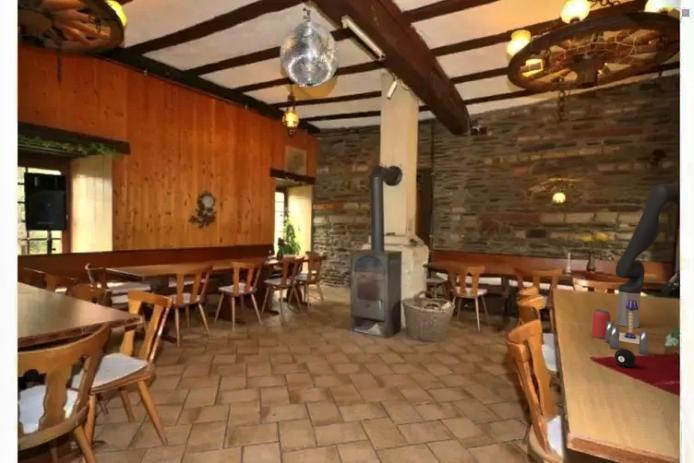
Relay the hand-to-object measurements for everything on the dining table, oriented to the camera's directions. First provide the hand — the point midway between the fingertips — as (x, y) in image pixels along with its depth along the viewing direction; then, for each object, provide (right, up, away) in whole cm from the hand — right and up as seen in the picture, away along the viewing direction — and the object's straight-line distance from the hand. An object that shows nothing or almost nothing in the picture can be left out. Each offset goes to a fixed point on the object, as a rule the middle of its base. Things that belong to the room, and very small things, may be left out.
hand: (663, 291), depth 167 cm
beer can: (-22, -22, +8) cm, 32 cm away
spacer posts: (-22, -22, -8) cm, 32 cm away
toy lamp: (-10, -21, +6) cm, 24 cm away
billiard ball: (-37, -22, -28) cm, 52 cm away
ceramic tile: (-10, -22, +6) cm, 25 cm away
